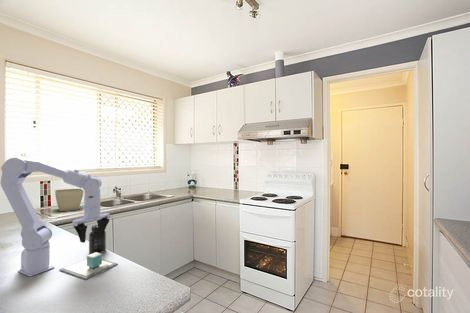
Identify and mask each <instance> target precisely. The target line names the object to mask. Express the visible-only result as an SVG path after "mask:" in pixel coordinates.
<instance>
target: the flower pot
mask: <svg viewBox="0 0 470 313" xmlns="http://www.w3.org/2000/svg"><path fill="white" fill-rule="evenodd" d="M84 192H85V190H84V189H83V188H65V189H55V190H54V195H55V196H54V197H55V200H56V203H57V207H58V210H59V212H69V211H79V209H80V206H81V203H82V200H83V196H84Z"/></svg>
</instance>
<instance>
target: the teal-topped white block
mask: <svg viewBox="0 0 470 313" xmlns="http://www.w3.org/2000/svg"><path fill="white" fill-rule="evenodd" d="M86 259H87V266H89V268H90V269H95V268H98V267H99V265H100V264H102V259H103V253H102V252H101V253H97V252H95V253H92V254H91V253H89V254H88V255H86Z"/></svg>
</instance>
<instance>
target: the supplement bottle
mask: <svg viewBox="0 0 470 313" xmlns="http://www.w3.org/2000/svg"><path fill="white" fill-rule="evenodd" d="M90 230H91V231H90V232H89V234H88V252H89V254H92V253H95V252H97V253H101V254H102V253H103V252H105V250H107V247H106V246H107V232H106V230H105V231H104V235H103V237H100V236H99V235H98V224H94V225H92V226H91V229H90Z"/></svg>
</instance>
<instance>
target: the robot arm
mask: <svg viewBox="0 0 470 313" xmlns="http://www.w3.org/2000/svg"><path fill="white" fill-rule="evenodd" d="M0 170H1V180H0V186H1V188H2V191H3V193H4V194H5V196H6V199H7V201H8V202H9V204H10V206H11V208H12V210H13V212H14V214H15V216H16V218H17V220H18V222H19V224H20V226H21V232H20V236H21V246H22V247H23V250H22V251H21V254H20V269H17V272H19V273H20V274H23V275H26V276H28V277H33V276H36V275H39V274H41V273H44V272H46V271H49V270H51V269H52V270H53V269H54V268H55V266H54V265H52V264H50V259H51V258H50V256H51V254H50V248H51V247H50V245H51V244H50V241H49V240H50V239H51V238H52V237H53V231H52V229H51V228H50V227H47V225H46V224H45V222H43V221H42V220H40V219H39V216H38V214H37V212H36V210H35V208H34V206H33V204H32V202H31V200H30V198H29V197H28V194H27V192H26V190H25V188H24V187H23V182H24V181H25V180H26V179H27V177H28V176H30V175H31V174H33V173H38V172H39V173H43V174H46V175H50V176H54V177H57V178H60V179H62V180H63V183H65V184H68V185H71V186H73V187H77V188H78V189H82V190H84V195H83V196H84V198H83V199H84V202H83V203H84V204H83V210H84V215H83V216H82V217H80V218H78V219H74V220H72V222H71V224H72V227H73V229H75V231H76V233H77V236H78V238H79V242H80V243H83V244H84V243H86V237H87V236H86V233H87V230H88V225H85V224H88V223H92V222H95V221H96V223H97V225H98V235H99V236H100V237H103V235H104V231H105V232H106V228H107V226H108V224H109V222H110V218H111V217H110V216H111V214H110V213H109V212H106V213H101V187H102V180H101V179H100V178H99V177H98V176H92V175H91V174H85V173H82V172H80V170H79V169H77V168H76V169H69V170H65V169H62V168H60V167H57V166H55V165H52V164H49V163H47V162H44V161H41V160H39V159H38V160H37V159H33V158H31V157H23V158H22V157H10V158H9V159H7V160H6V161H5V162H4V163H3V164H2V165H1V167H0Z"/></svg>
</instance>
